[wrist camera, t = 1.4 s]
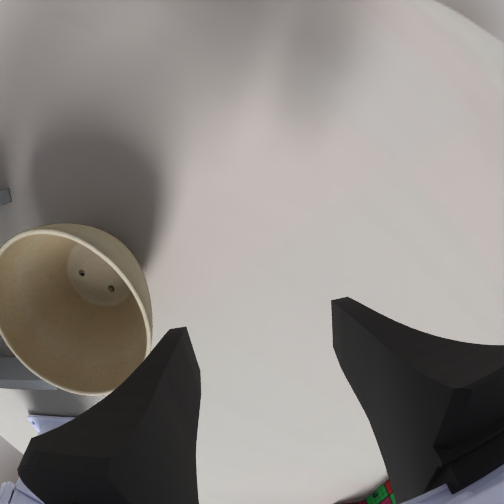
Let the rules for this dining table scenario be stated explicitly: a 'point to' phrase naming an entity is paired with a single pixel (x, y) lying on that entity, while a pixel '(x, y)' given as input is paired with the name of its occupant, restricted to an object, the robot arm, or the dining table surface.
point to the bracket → (10, 368)
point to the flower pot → (74, 307)
